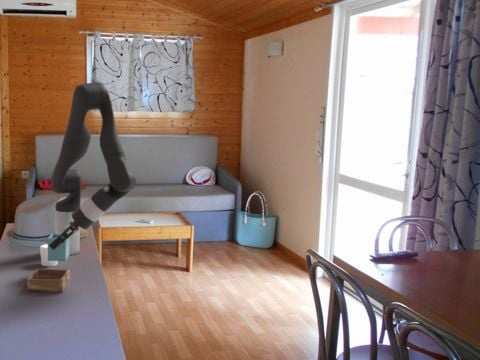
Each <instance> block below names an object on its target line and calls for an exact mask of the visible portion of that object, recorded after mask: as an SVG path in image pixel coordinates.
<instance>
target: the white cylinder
mask: <svg viewBox="0 0 480 360" xmlns="http://www.w3.org/2000/svg"><path fill="white" fill-rule="evenodd" d="M39 252H40V261H41V263H40V264H41V266H43V267H54V266H57V265H58V262H59V261H48V243H44V244H41V245H39Z"/></svg>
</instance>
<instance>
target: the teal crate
mask: <svg viewBox="0 0 480 360" xmlns="http://www.w3.org/2000/svg"><path fill="white" fill-rule="evenodd" d="M59 235H60V234H55V233H51V234H50V235H49V236H48V238H47V244H48V261H58V262H66V261H67V260H68V259H69V258H70V255H69V239H66V240H65V241H64V242H63V243H61V244H60V245H59V246H57V247H56V248H55V249H54V250H53V249H52V248H51V247H50V246H49V245H50V244H51V243H52V242H53V241H54V240H55V239H56V238H57V237H58V236H59ZM61 238H62V239H65V238H64V237H63V236H61Z"/></svg>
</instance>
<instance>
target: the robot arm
mask: <svg viewBox="0 0 480 360" xmlns="http://www.w3.org/2000/svg"><path fill="white" fill-rule="evenodd" d="M70 107H71V108H70V114H69V118H68V124H67V126H66V130H65V132H64V133H65V134H64V136H63V140H62V144H61V148H60V152H59V156H58V159H57V161H56V164H55V166H54V169H53V171H52V174H51V178H50V188H51V190H52V192H54V193H55V194H68V195H67V196H66V197H65V198H64V199H61V200H59V201H57V202H56V203H55V206H54V207H55V213H54V214H55V221H54V222H55V225H54V226H55V233H54V234H60V235H59V236H58V237H57V238H56V239H55V240H54V241H53V242H52V243H51V244H50V245H49V246H50V247H51V248H52V249H53V250H54V249H55V248H56V247H57V246H59V245H60V244H61V243H63V242H64V241H65V240H66V239H69V256H72V255H77V254H79V253H80V243H81V241H80V235H81V234H80V233H81V229H83V230H88V229H89V228H90V227H92V226H93V224H95V223H96V222H97V221H98V220H99V219H100V218H101V217H102V216H103V215H104V214H105V212H107V210H109V209H110V208H111V207H112V206H113V205H114V204H115V203H116V202H118V201H119V200H120V199H122V198H123V197H124V196H126V195H127V194H128V193H129V192H131V191H132V190H133V189H134V187H135V186H136V182H137V181H136V176H135V175H134V174H133V173H132V172H130V171H129V170H128V167H127V165H126V158H127V157H126V154H125V151H124V148H123V146H122V143H121V141H120V138H119V133H118V130H117V126H116V120H115V115H114V109H113V105H112V100H111V95H110V92H109V90H108V87H107V86H106V85H105V84H104V83H103V82H100V81H95V82H88V83H81V84H78V85H77V86H76V87H75V89H74V91H73V94H72V100H71V106H70ZM95 110H98V111H99V113H100V115H101V122H102V123H101V128H100V129H101V130H100V135H99V146H100V151H101V153H102V156H103V159H104V161H105V163H106V168H107V169H106V170H107V175H108V179H109V182H110V183H108V184H107V185H105V186H103V187H101V188H100V189H98V190H97V191H96V192H95V193H93V195H91V197H89V198H87V199H86V200H85V201H84V202H82V201H81V197H82V183H83V182H82V181H83V180H82V174H81V172H80V171H79V169H76V168H73V169H72V166H74V165H75V164H76V163H77V162H78V161H80V160H81V159H82V158H83V157H84V156H85V155H86V153H87V152H88V149H89V146H90V144H91V138H92V137H91V132H90V129H89V127H88V126H87V123H86V116H87V115H88V112H89V111H95ZM81 202H82V204H81ZM80 228H81V229H80ZM61 236H63V237H64V238H65V239H62V238H61Z"/></svg>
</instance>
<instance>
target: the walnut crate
mask: <svg viewBox="0 0 480 360" xmlns="http://www.w3.org/2000/svg"><path fill="white" fill-rule="evenodd" d="M26 280H27V281H26V287H27V288H26V289H27V291H26V292H27V293H61V294H63V293H64V292H65V290H66V288H67V286H68V285H69V284H70V282H71V269H66V268H65V269H64V268H63V269H61V268H60V269H58V268H57V269H56V268H36V269H35V270H34V271H33V272H32V273H31V275H30V276H29V277H28V278H27V279H26Z"/></svg>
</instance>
